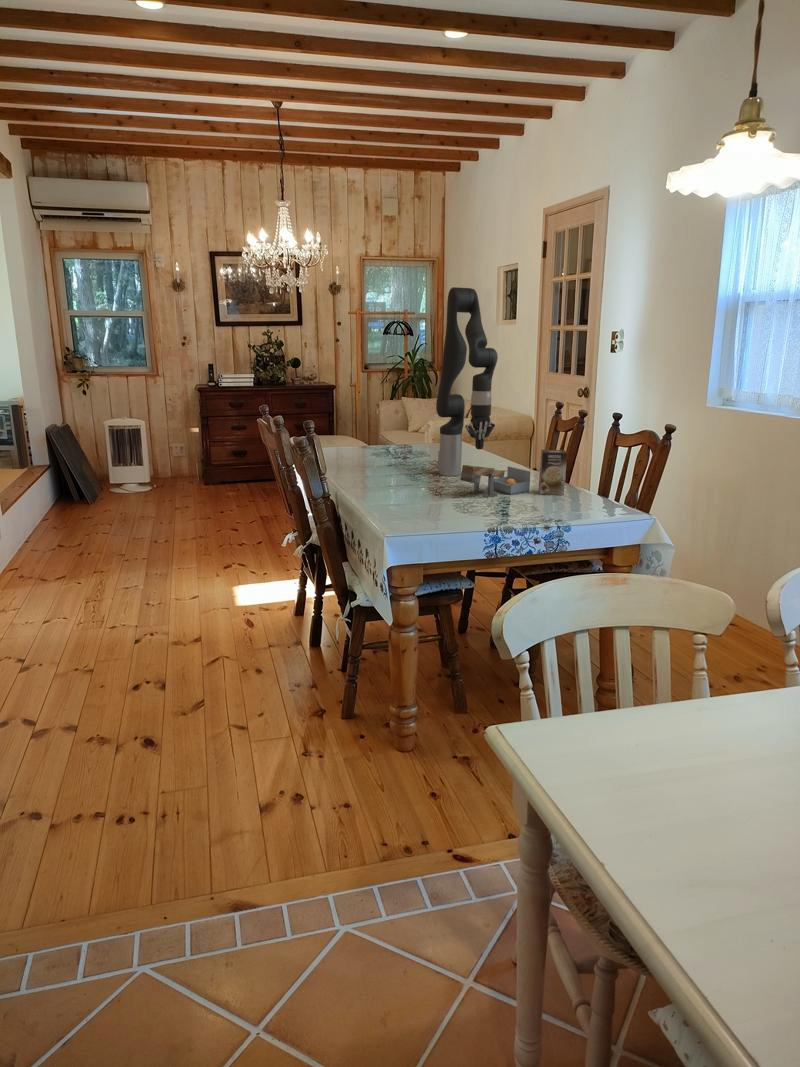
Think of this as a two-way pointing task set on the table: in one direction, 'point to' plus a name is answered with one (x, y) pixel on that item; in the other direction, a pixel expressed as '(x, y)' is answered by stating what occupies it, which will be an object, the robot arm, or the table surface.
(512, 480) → the ball
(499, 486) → the bin
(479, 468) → the lever chute
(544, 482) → the coffee box
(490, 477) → the lever stand
